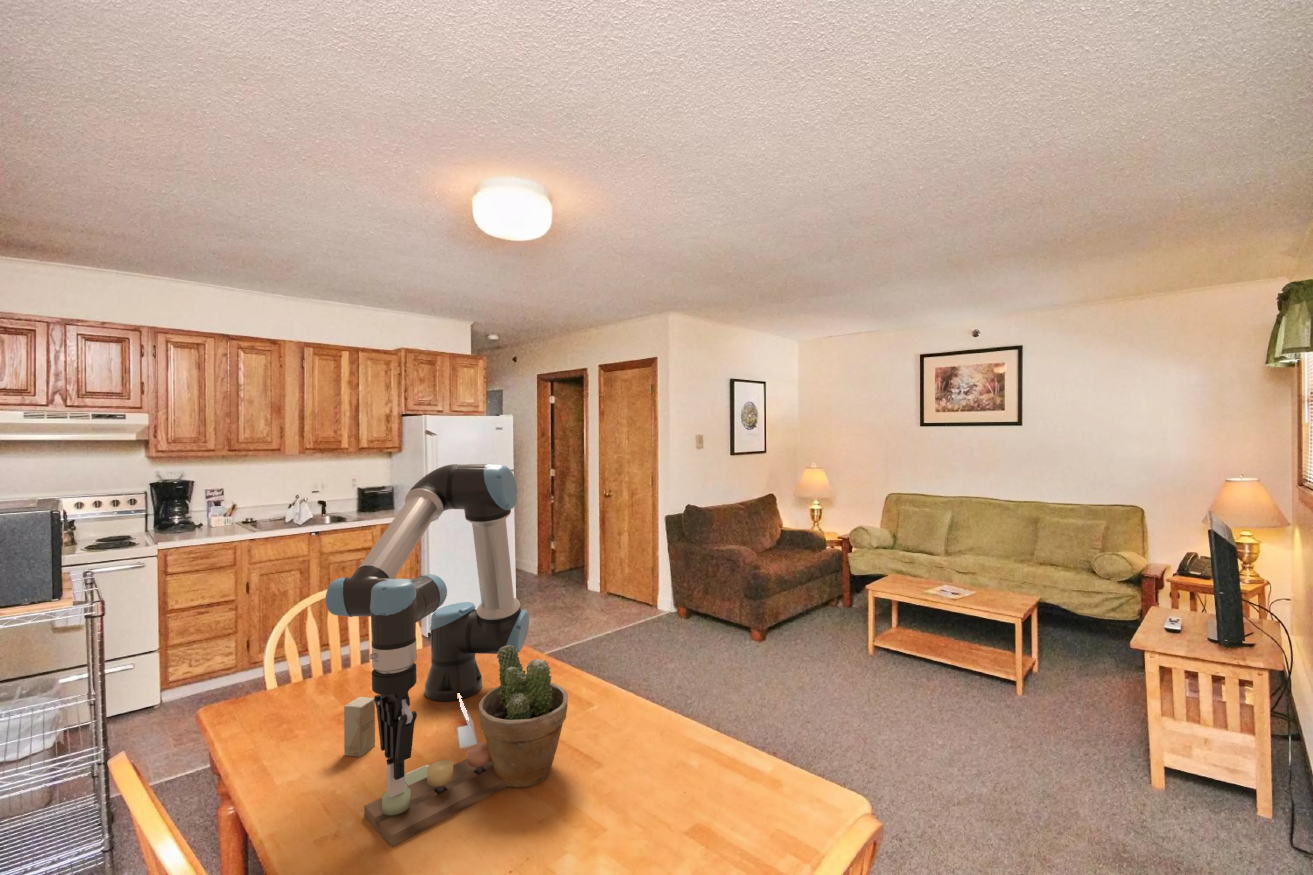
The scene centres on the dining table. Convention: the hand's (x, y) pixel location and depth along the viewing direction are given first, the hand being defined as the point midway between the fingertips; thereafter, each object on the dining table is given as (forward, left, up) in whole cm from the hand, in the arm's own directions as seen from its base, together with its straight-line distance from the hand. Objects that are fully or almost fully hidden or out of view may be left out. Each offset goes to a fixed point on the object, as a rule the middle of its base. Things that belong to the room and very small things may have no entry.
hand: (396, 792), depth 107 cm
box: (-5, -31, -6) cm, 32 cm away
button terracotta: (-17, 0, -3) cm, 17 cm away
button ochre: (-9, 0, -3) cm, 9 cm away
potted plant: (-25, +4, -6) cm, 26 cm away
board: (-9, 0, -5) cm, 10 cm away
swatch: (-9, -10, -5) cm, 14 cm away
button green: (0, 0, -5) cm, 5 cm away
